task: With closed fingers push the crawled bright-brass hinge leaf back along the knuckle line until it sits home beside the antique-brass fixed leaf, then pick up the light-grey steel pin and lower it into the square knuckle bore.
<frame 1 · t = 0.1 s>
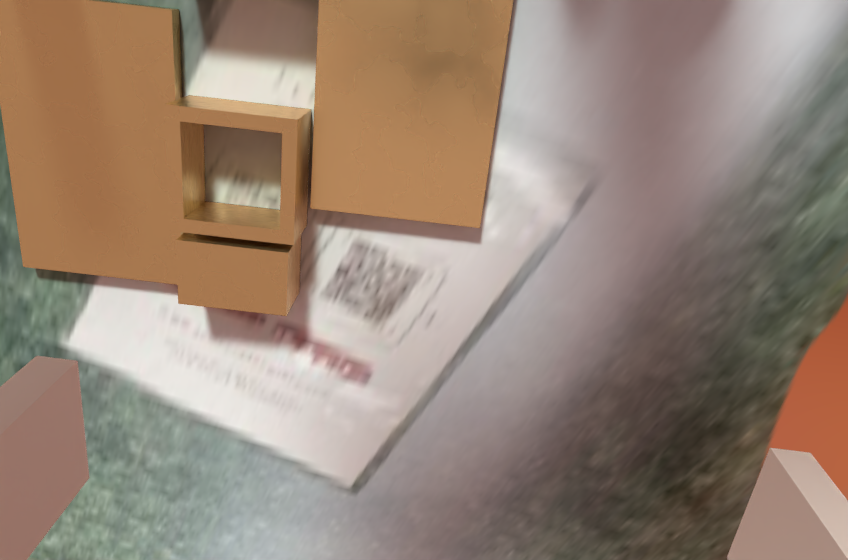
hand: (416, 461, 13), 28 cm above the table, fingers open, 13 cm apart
fixed leaf: (249, 162, 39), on the table
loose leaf: (340, 70, 35), point 2 cm above the table, slide at 6.0 cm
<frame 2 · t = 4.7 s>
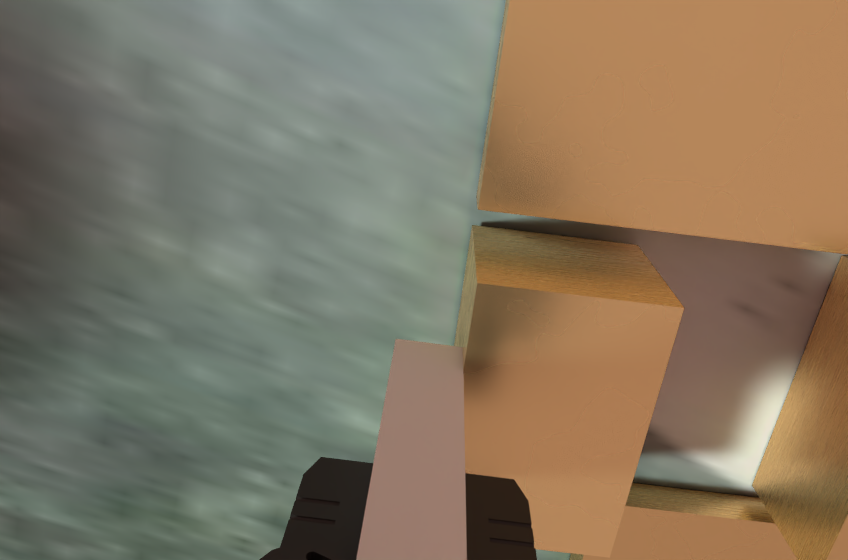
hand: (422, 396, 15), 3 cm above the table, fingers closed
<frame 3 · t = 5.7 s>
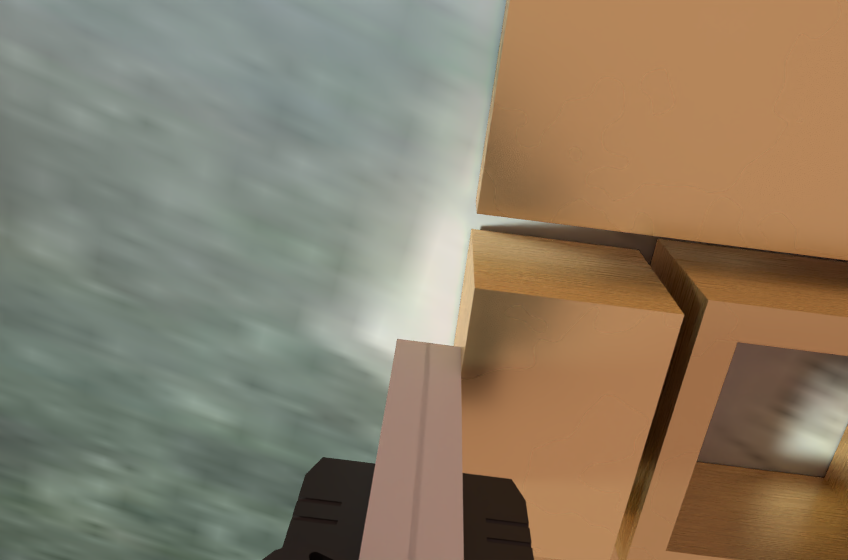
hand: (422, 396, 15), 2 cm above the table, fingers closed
fixed leaf: (757, 381, 17), on the table
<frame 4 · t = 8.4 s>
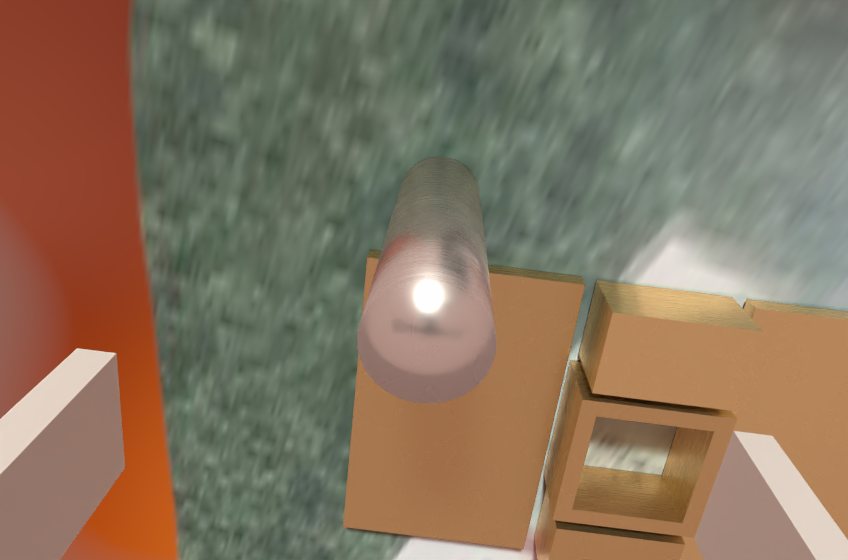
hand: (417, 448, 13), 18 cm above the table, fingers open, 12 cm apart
pin: (439, 195, 30), on the table
fixed leaf: (623, 427, 34), on the table
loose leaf: (740, 464, 33), point 2 cm above the table, slide at 0.0 cm
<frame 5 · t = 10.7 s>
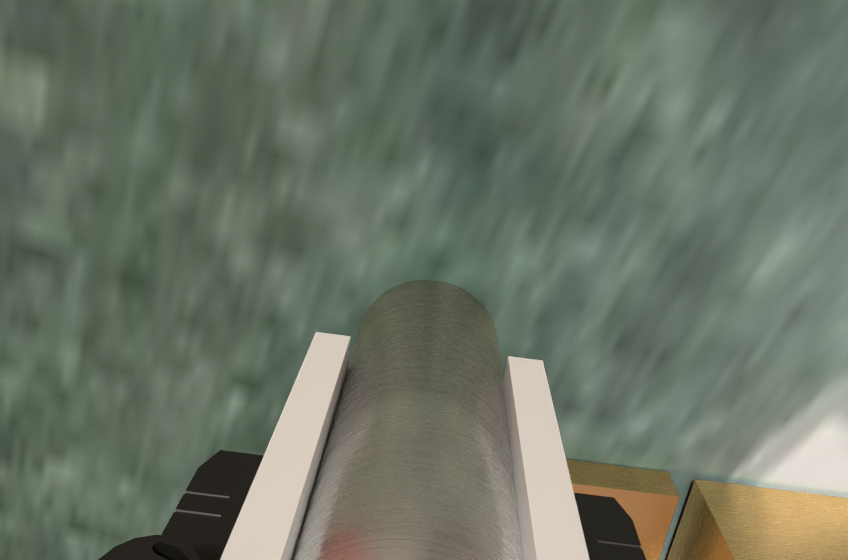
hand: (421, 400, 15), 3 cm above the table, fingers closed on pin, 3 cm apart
pin: (427, 344, 17), on the table, touching gripper
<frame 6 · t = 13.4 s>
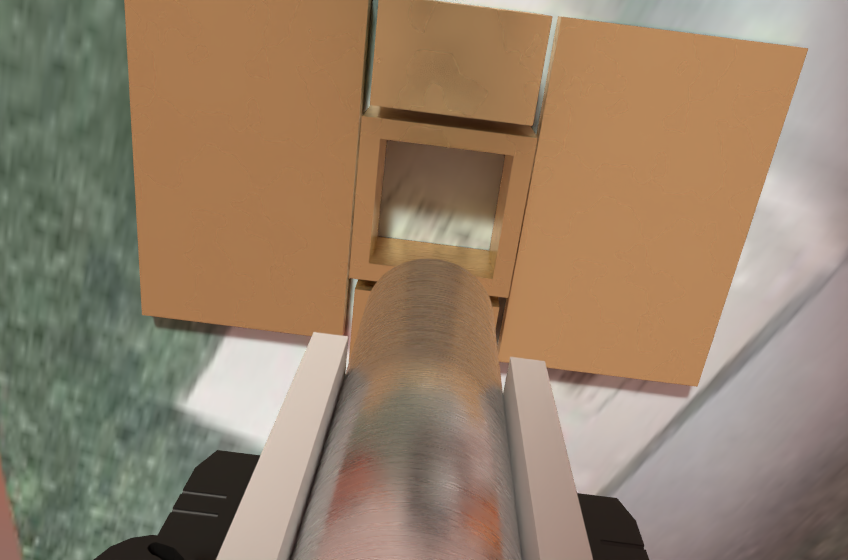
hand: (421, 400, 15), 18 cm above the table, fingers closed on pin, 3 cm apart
pin: (429, 318, 19), point 13 cm above the table, touching gripper
fixed leaf: (440, 189, 31), on the table
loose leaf: (560, 216, 29), point 2 cm above the table, slide at 0.0 cm
when the fingers open (5 cm above the table, at t = 16.4 s): pin stays where it is, resting in fixed leaf.
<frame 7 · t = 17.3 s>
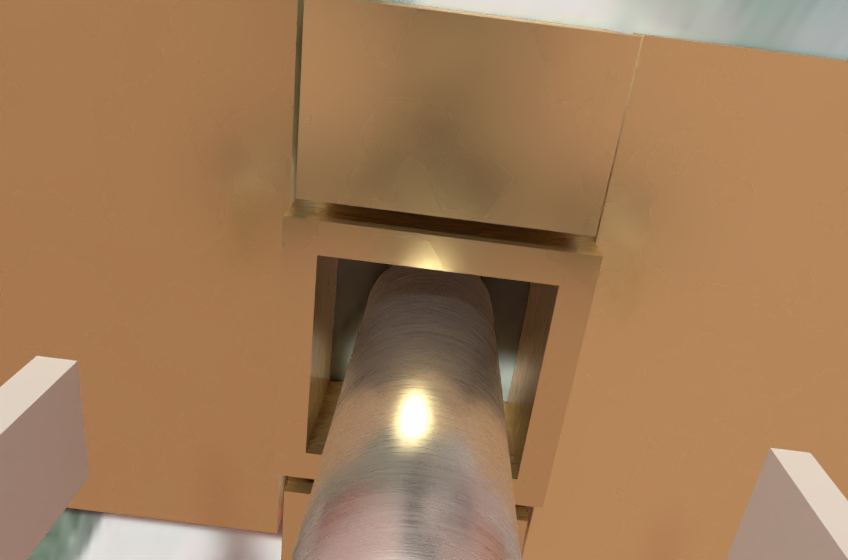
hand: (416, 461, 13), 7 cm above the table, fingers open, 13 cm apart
pin: (429, 313, 19), resting in fixed leaf
fixed leaf: (429, 311, 19), on the table
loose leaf: (631, 369, 17), point 2 cm above the table, slide at 0.0 cm
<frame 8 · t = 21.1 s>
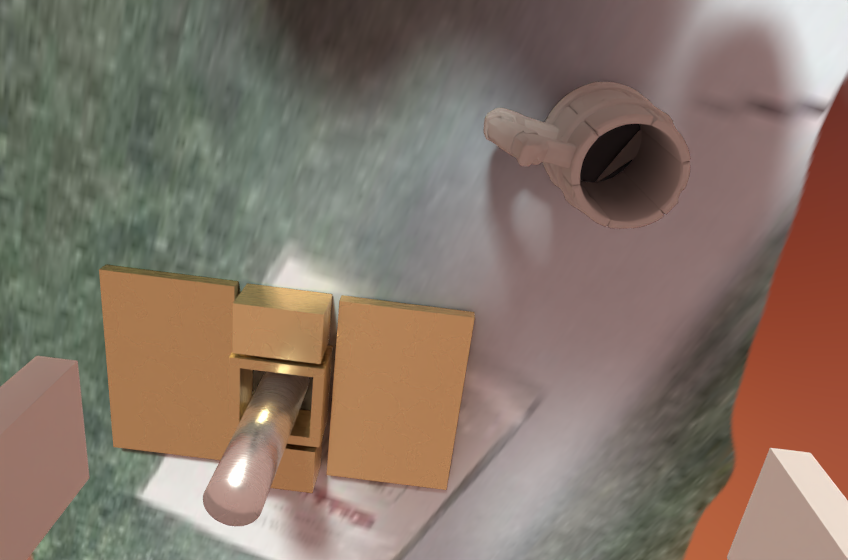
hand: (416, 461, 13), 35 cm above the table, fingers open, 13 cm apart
mug: (565, 130, 45), on the table
pin: (286, 379, 53), resting in fixed leaf
fixed leaf: (286, 379, 53), on the table
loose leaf: (349, 400, 51), point 2 cm above the table, slide at 0.0 cm
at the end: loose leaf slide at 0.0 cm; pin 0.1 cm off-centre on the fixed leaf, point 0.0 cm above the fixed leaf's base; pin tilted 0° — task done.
